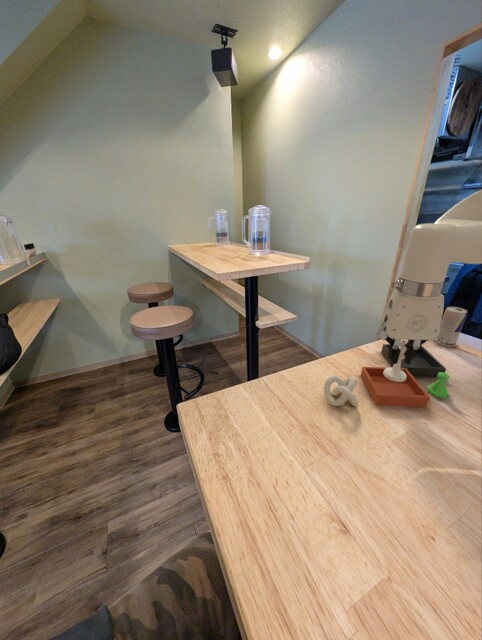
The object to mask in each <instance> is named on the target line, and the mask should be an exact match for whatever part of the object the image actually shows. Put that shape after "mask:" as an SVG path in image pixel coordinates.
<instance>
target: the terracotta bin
mask: <svg viewBox="0 0 482 640" xmlns="http://www.w3.org/2000/svg"><path fill="white" fill-rule="evenodd" d="M386 368H387V367H385V366H384V367H381V366H380V367H379V366H362V367H361V371H360V377H361V379H362V381H363V383H364V385H365V387H366V389H367V391H368V393H369V395H370V397H371V399H372V401H373V403H374V404H375V406H390V407H408V408H427V407H428V405H429V401H430V399H431V397H430V396H429V395H428V393H427V392H426V391H425V390H424V388H423V387H422V386H421V384H420V383H419V382H418V381H417V379H416V377H413V376H412V375H411V373H410V372H409V371H408V370H407V368H400V370H402V371H403V372H404V373H405V374H406V380H405V381H403V382H396V381H392V380H390V379H388V378H386V377H385V376H384V374H383V372H384V370H385V369H386Z"/></svg>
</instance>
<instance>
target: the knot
mask: <svg viewBox="0 0 482 640" xmlns="http://www.w3.org/2000/svg"><path fill="white" fill-rule="evenodd" d="M333 383H336V384H337V385H336V386H335V387H334V388H333V389H332V391H331V387H332V385H333ZM356 385H357V379H356V378H355V377H354V376H349V377H347V378H345V379H344V380H343V379H342V378H341V377H339V376H338V375H331V376H329V377H328V378H327V379H325V382H324V384H323V394H324V397H325V399H326V401H327V403H329V404H330V405H331V406H335V407H339V406H341V405H344V404H345V403H346V402H347V401H348V402H349V403H350V404H351V405H352V406H354V407H357V406H358V405H359V403H360V402H359V399H358V398H357V396H356V395H355V393H353V391H354V389H355V387H356ZM331 393H332V394H331ZM340 393H341V395H340V397H339V398H337V399H335V398H334V397H333V396H338V395H339V394H340ZM332 395H333V396H332Z"/></svg>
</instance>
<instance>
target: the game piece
mask: <svg viewBox="0 0 482 640" xmlns="http://www.w3.org/2000/svg"><path fill="white" fill-rule="evenodd" d="M437 377H438V378H437V380H435V381H434V382H433V383H432V384H428V385H427V392H428V393H429V394H431V395H432V396H434V397H436V398H441V399H445V398H448V397H449V395H450V393H449V390H448V388H447V386H446V381H449V378H450V375H449V374H448V373H447V372H446V371H445V372H438V375H437Z"/></svg>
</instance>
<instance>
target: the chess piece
mask: <svg viewBox="0 0 482 640" xmlns="http://www.w3.org/2000/svg"><path fill="white" fill-rule="evenodd" d="M405 344H407V340H403V339H402V340H401V342H400V346H399V349H400V355H399V358H398V362H397V363H396V364H394V366H393V367H391V366H390V367H385V368H386V369H385V370H384V372H383V374H384V376H385V377H386V378H388V379H390V380H392V381H396V382H403V381H405V380H406V374H405V373H404V372H403V371H402V370H400V368H401V359H405V356H404V355H403V354H404V353H405V352H406V350H407V348H406V347H405V346H404V345H405Z"/></svg>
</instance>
